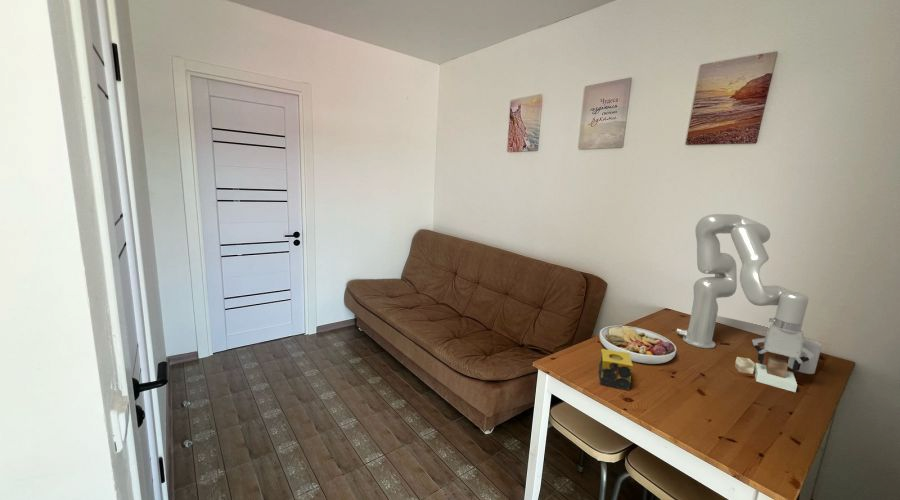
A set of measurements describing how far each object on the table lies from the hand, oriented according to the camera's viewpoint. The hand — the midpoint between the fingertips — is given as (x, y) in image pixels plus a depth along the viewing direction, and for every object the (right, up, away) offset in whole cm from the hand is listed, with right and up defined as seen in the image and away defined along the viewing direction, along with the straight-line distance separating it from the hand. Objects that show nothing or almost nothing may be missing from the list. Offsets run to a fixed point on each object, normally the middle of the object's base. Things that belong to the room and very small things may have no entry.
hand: (777, 366), depth 136 cm
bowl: (-43, 0, +22) cm, 48 cm away
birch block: (-6, -4, +8) cm, 11 cm away
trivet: (0, -6, +1) cm, 6 cm away
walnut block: (0, -3, +1) cm, 3 cm away
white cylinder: (+20, -5, +11) cm, 23 cm away
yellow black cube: (-64, -4, -3) cm, 64 cm away
